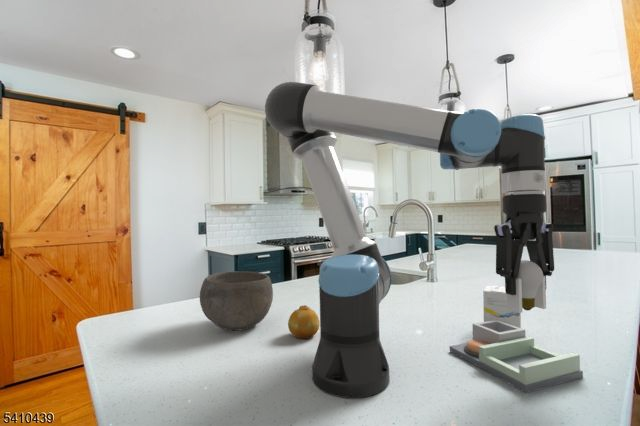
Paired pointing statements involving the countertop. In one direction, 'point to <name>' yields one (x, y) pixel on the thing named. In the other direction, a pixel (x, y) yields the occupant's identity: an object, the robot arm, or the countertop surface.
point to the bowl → (236, 298)
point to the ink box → (499, 306)
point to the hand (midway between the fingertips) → (526, 308)
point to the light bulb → (529, 282)
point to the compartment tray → (518, 357)
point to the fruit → (303, 322)
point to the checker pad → (475, 345)
